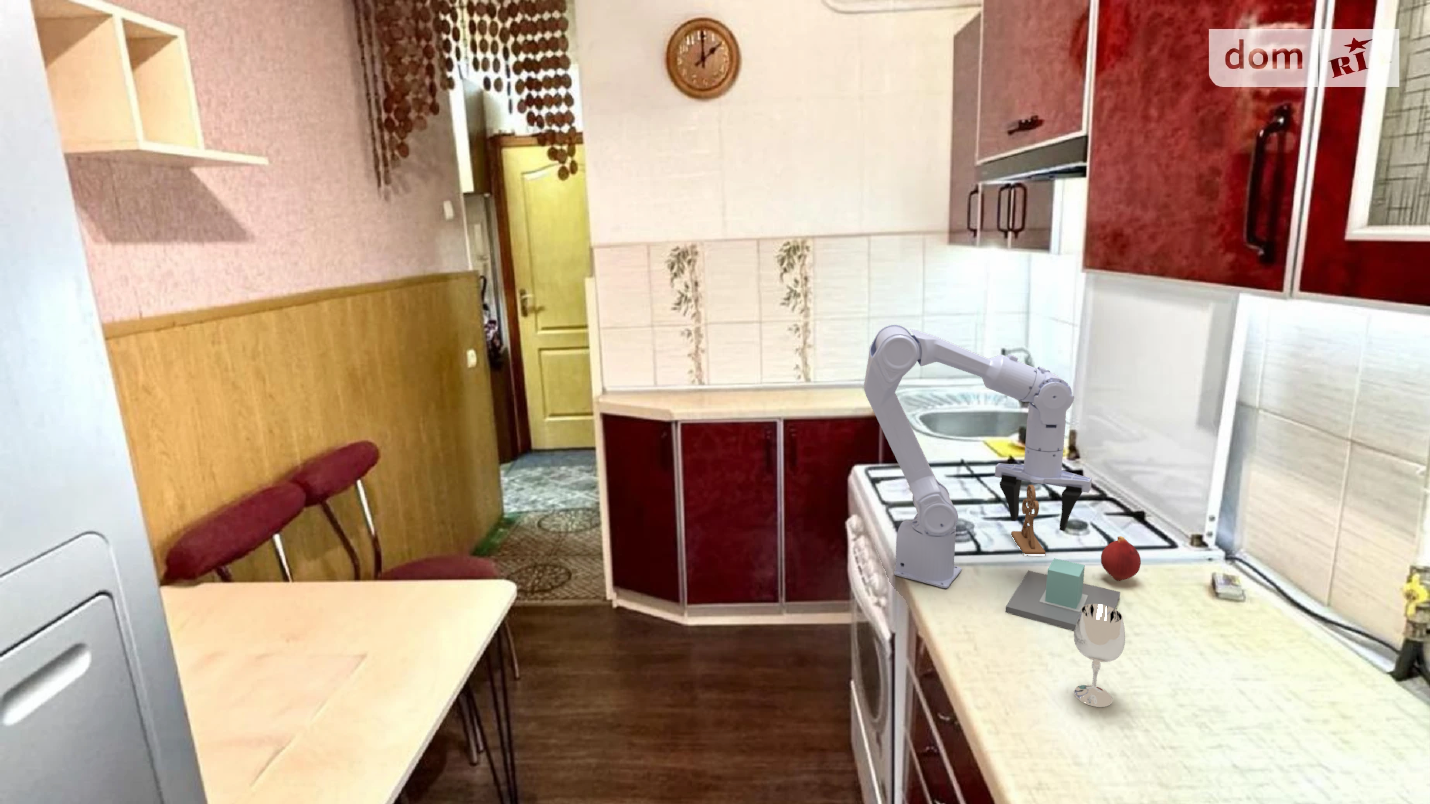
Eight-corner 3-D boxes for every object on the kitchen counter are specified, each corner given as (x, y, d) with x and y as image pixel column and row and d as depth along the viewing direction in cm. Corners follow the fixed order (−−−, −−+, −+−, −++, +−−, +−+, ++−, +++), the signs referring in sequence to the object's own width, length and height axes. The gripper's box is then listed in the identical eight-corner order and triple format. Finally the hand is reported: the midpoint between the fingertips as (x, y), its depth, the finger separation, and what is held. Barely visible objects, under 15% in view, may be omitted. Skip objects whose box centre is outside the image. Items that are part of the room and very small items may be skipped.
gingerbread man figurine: (1010, 535, 143) (1014, 476, 140) (1031, 535, 142) (1035, 477, 139) (1023, 556, 134) (1027, 494, 131) (1045, 556, 134) (1050, 494, 131)
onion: (1129, 572, 127) (1133, 529, 125) (1144, 589, 121) (1149, 544, 119) (1093, 572, 127) (1097, 529, 125) (1107, 588, 122) (1111, 544, 120)
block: (1045, 601, 117) (1047, 569, 115) (1051, 589, 120) (1054, 558, 119) (1076, 609, 114) (1079, 576, 113) (1081, 596, 118) (1084, 565, 116)
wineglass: (1114, 686, 98) (1123, 604, 95) (1121, 714, 92) (1131, 628, 89) (1066, 679, 99) (1073, 599, 96) (1071, 706, 94) (1078, 621, 91)
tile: (1005, 612, 116) (1005, 605, 116) (1028, 575, 127) (1028, 569, 127) (1104, 638, 108) (1105, 632, 108) (1119, 597, 119) (1120, 591, 119)
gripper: (991, 446, 122) (987, 522, 125) (1088, 460, 113) (1080, 542, 117) (1003, 435, 127) (999, 508, 131) (1096, 448, 119) (1089, 526, 122)
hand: (1038, 523), depth 124 cm, fingers open, 7 cm apart
